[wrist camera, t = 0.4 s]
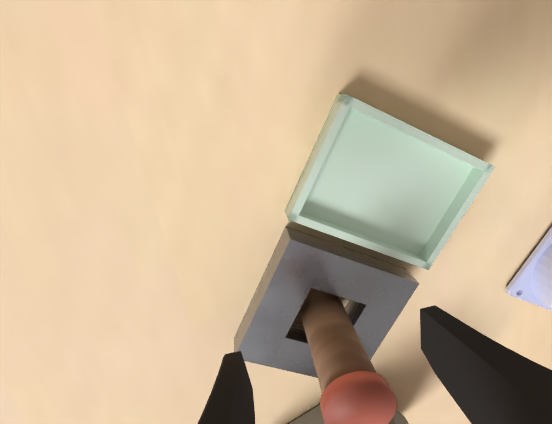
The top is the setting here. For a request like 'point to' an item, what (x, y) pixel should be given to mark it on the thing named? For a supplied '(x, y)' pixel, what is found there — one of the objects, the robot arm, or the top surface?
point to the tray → (385, 184)
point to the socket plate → (325, 277)
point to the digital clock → (314, 420)
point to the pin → (343, 365)
